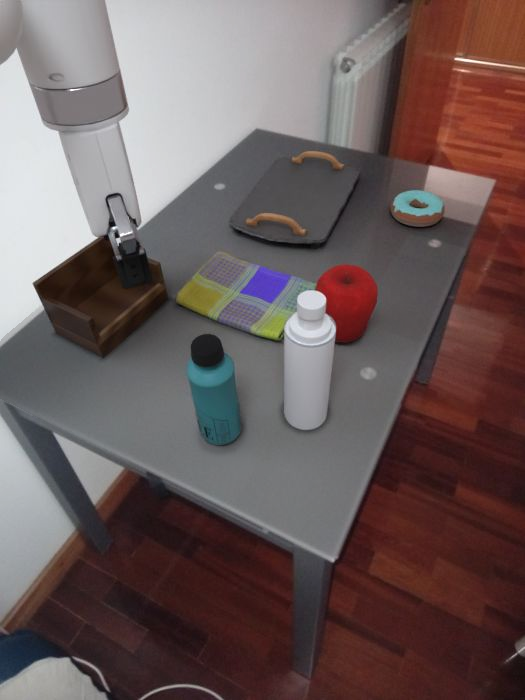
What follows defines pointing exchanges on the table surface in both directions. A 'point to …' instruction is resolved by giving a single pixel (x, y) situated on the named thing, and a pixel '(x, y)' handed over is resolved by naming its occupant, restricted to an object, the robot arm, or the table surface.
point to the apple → (348, 299)
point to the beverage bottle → (214, 390)
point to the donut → (417, 208)
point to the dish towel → (243, 295)
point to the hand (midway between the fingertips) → (127, 259)
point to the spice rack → (97, 298)
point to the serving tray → (297, 199)
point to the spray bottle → (308, 361)
